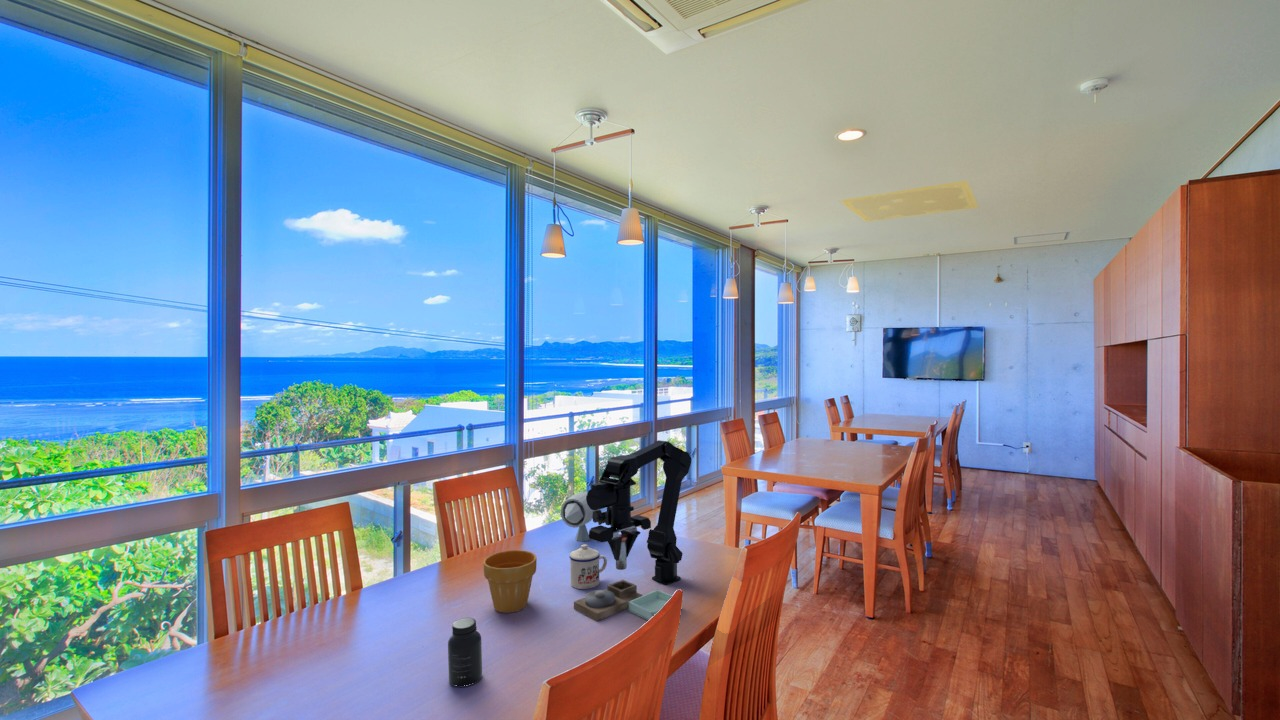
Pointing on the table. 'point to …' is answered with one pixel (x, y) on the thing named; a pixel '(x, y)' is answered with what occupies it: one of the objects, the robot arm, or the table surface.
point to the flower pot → (510, 578)
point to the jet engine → (577, 514)
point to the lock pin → (622, 554)
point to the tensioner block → (607, 600)
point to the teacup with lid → (585, 567)
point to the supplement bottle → (464, 653)
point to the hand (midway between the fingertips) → (621, 558)
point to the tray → (648, 604)
